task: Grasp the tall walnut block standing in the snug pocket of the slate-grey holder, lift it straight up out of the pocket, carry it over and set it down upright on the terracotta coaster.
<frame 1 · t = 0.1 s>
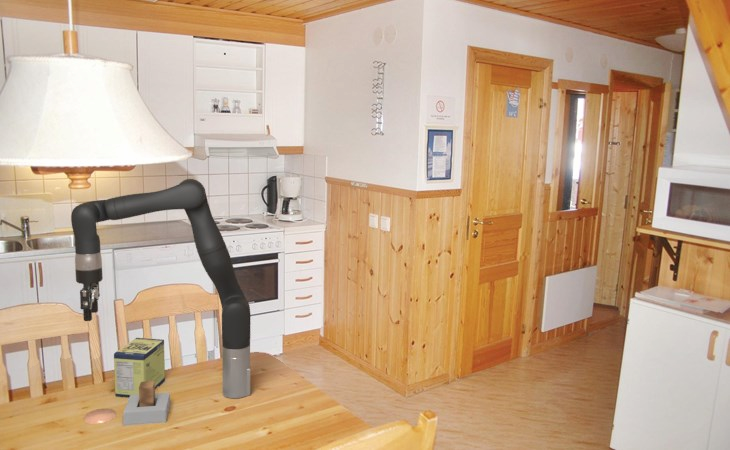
hand: (91, 316, 180), 29 cm above the table, fingers open, 8 cm apart
protein box: (141, 389, 195), on the table
coaster: (100, 417, 175), on the table
walnut block: (147, 414, 177), resting on pocket holder
pocket holder: (147, 415, 177), on the table
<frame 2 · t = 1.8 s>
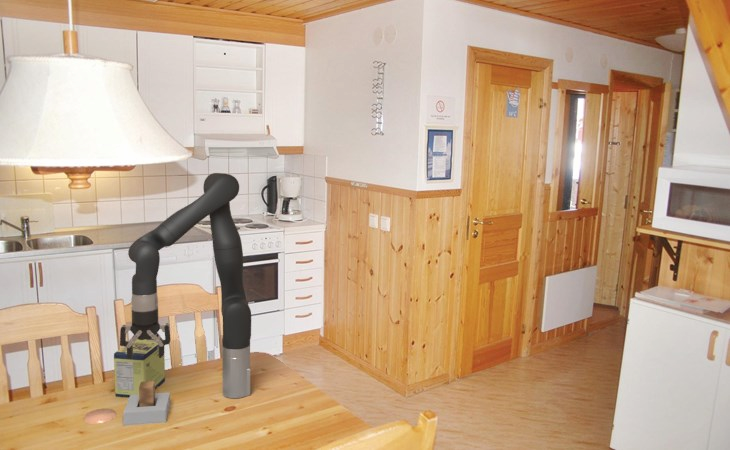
hand: (145, 357, 174), 19 cm above the table, fingers open, 8 cm apart
nothing on the table moved.
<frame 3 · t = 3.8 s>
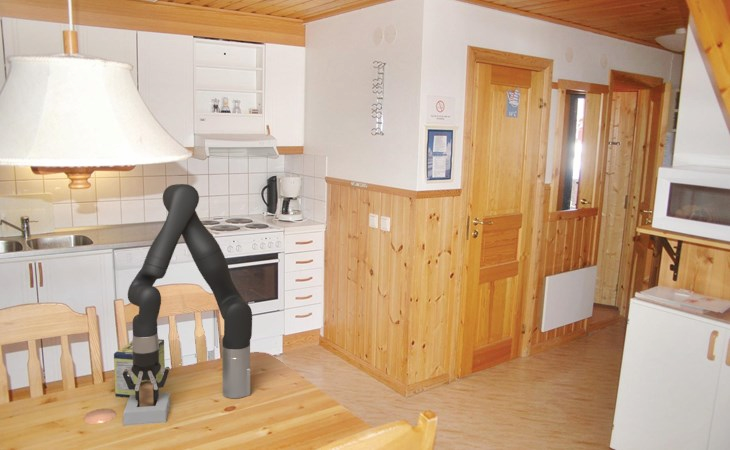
hand: (147, 400, 176), 5 cm above the table, fingers closed on walnut block, 4 cm apart
walnut block: (147, 414, 177), point 1 cm above the table, touching gripper, pocket holder
everything else where it was.
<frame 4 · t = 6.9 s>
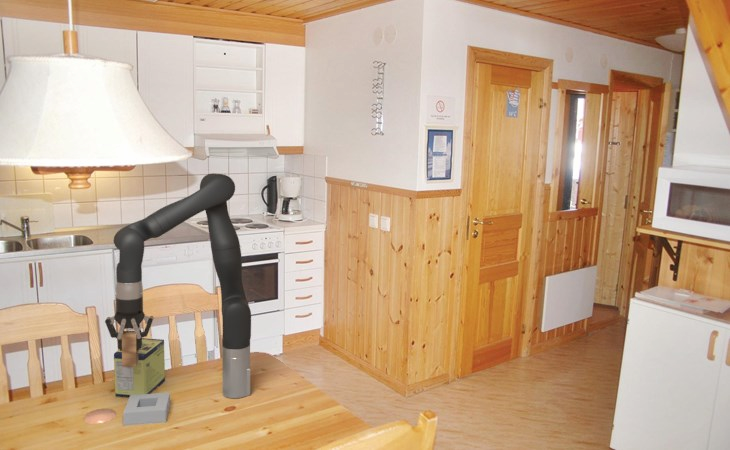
hand: (130, 349, 173), 22 cm above the table, fingers closed on walnut block, 4 cm apart
walnut block: (130, 364, 173), point 17 cm above the table, touching gripper
everything else where it was.
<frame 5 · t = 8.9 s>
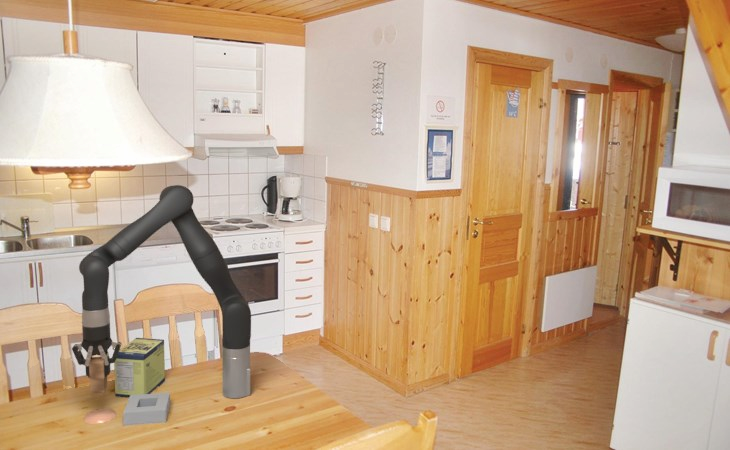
hand: (98, 375, 173), 14 cm above the table, fingers closed on walnut block, 4 cm apart
walnut block: (99, 390, 173), point 9 cm above the table, touching gripper
everything else where it was.
when the fingers open (7 cm above the table, at t = 10.5 s): walnut block drops 1 cm, resting on coaster.
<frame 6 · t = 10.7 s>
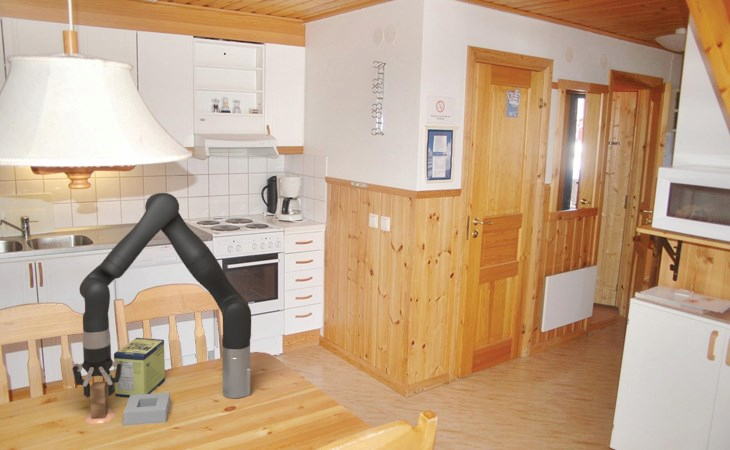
hand: (99, 395, 174), 7 cm above the table, fingers open, 5 cm apart
walnut block: (99, 415, 175), point 1 cm above the table, touching coaster
everything else where it was.
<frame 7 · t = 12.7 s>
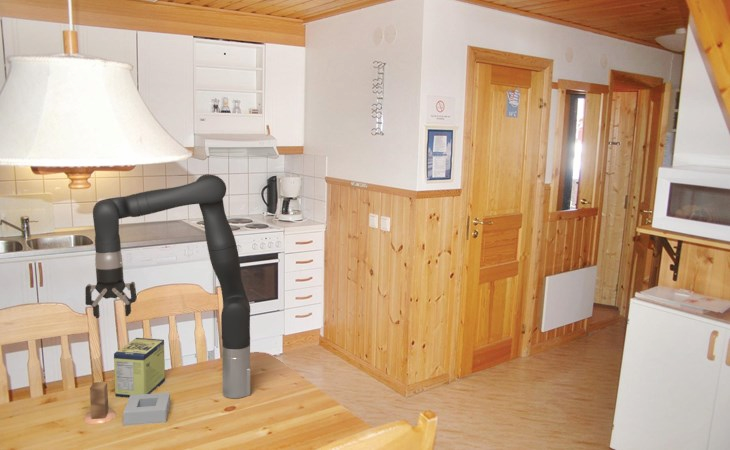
hand: (112, 316, 176), 31 cm above the table, fingers open, 8 cm apart
nothing on the table moved.
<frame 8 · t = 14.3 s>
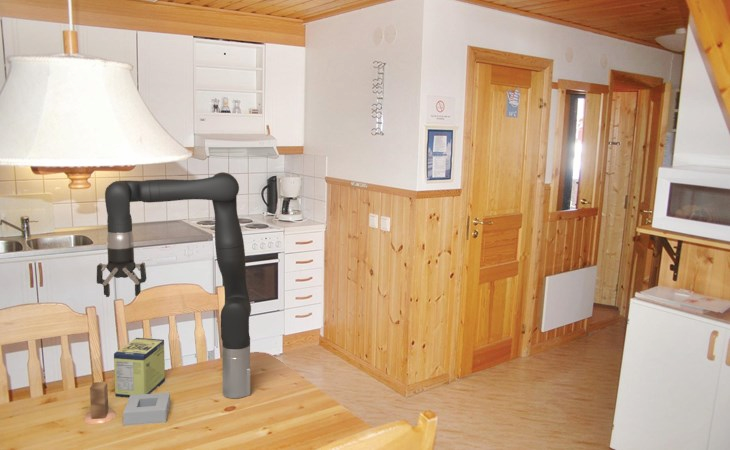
hand: (122, 295, 179), 36 cm above the table, fingers open, 8 cm apart
nothing on the table moved.
at the end: walnut block inside the target area on the coaster (0.1 cm from its centre), point 0.8 cm above the coaster's base; walnut block tilted 0°; the gripper is holding nothing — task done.
